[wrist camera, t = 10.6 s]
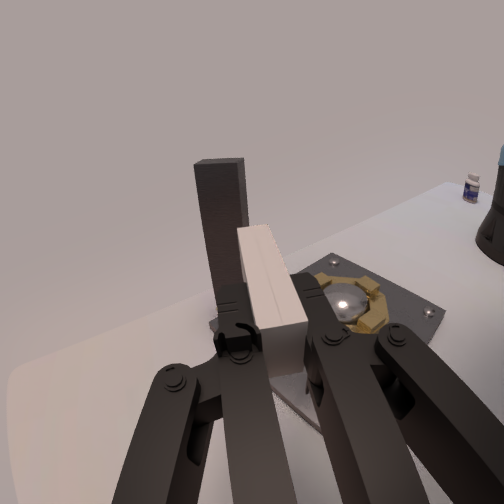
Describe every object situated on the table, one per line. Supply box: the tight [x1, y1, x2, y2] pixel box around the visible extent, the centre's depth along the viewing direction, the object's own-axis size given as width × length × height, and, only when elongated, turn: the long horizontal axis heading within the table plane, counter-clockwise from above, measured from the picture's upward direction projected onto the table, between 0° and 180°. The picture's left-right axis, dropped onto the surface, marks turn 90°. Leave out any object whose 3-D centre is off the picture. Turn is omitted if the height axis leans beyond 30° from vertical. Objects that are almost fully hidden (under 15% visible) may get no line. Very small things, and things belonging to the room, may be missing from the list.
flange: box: [209, 253, 446, 434], centre depth 29 cm, size 22×22×4 cm
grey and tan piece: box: [194, 158, 389, 334], centre depth 25 cm, size 19×10×17 cm, turn 75°
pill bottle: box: [463, 172, 480, 203], centre depth 61 cm, size 5×5×9 cm
